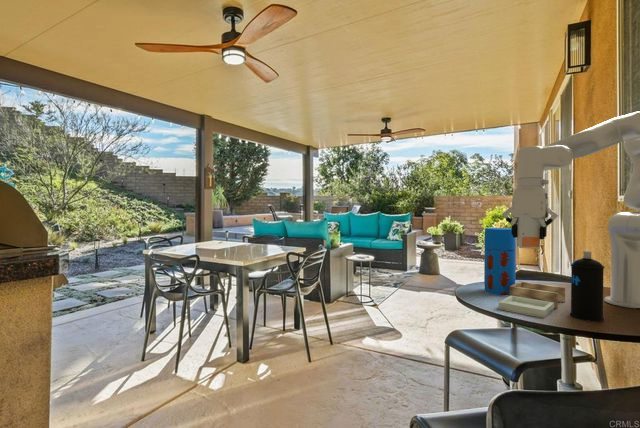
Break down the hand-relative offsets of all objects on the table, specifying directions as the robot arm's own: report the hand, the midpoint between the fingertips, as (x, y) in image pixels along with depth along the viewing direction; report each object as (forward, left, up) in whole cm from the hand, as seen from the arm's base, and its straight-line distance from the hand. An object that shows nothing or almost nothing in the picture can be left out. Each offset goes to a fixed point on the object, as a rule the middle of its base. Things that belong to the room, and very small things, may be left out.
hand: (528, 237), depth 114 cm
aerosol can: (-15, -2, -24) cm, 28 cm away
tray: (0, +2, -23) cm, 23 cm away
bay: (0, -12, -23) cm, 26 cm away
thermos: (+14, -16, -23) cm, 32 cm away
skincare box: (0, 0, -4) cm, 4 cm away
